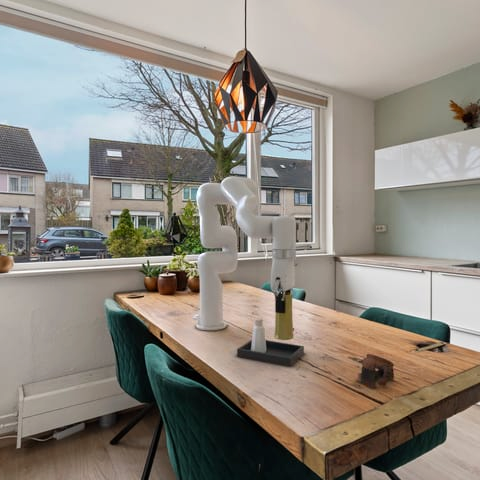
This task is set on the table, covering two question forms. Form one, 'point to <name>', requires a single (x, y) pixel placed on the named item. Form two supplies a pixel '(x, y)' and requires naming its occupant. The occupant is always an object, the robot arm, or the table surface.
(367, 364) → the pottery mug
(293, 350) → the tray
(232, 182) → the robot arm
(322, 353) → the table surface
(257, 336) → the salt shaker
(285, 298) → the vase
